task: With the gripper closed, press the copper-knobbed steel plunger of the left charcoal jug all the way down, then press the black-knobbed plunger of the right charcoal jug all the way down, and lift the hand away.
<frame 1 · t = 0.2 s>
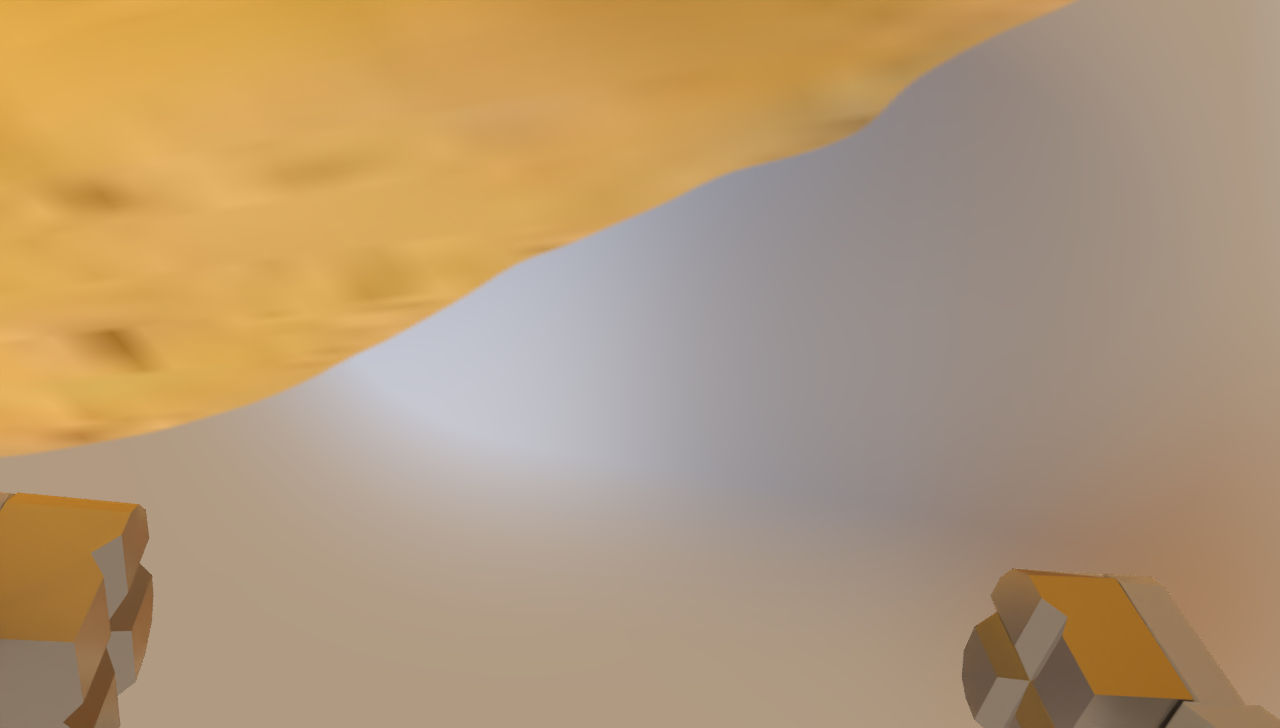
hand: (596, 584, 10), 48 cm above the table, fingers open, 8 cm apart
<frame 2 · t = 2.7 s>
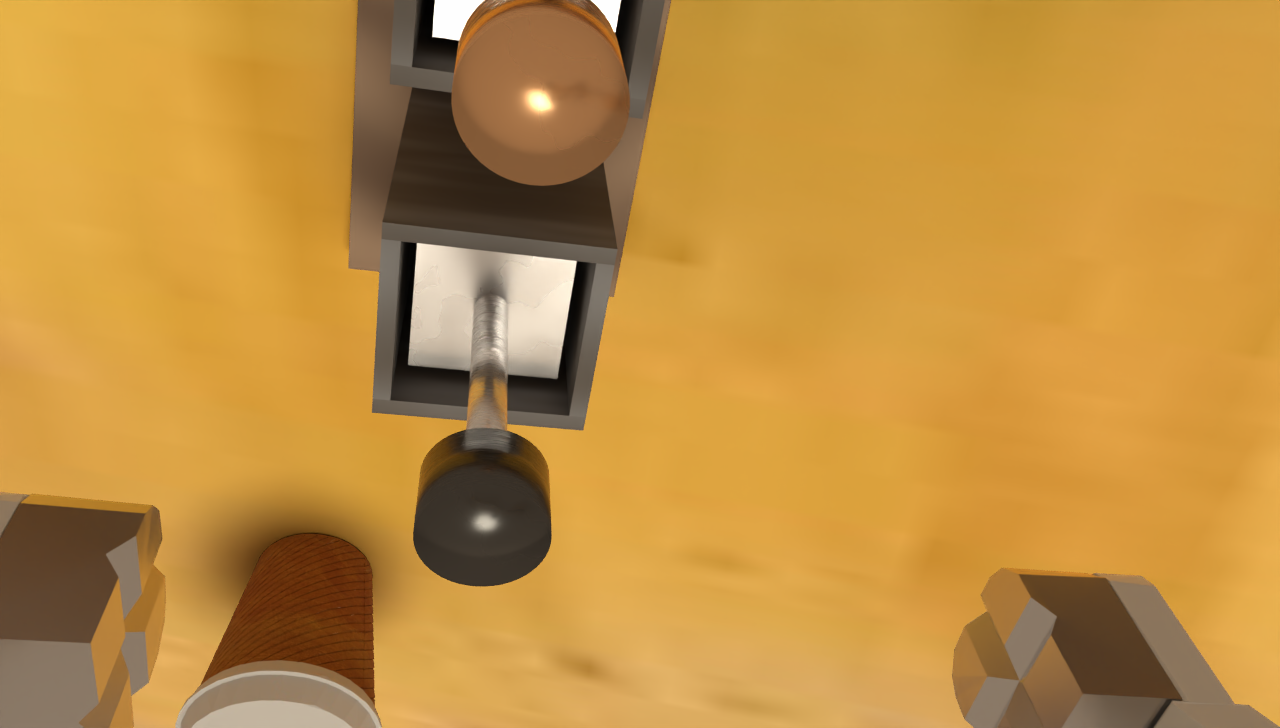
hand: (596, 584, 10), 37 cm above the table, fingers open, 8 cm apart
disposable coffee cup: (315, 571, 60), on the table
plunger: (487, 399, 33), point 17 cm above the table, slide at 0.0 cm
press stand: (511, 34, 44), on the table
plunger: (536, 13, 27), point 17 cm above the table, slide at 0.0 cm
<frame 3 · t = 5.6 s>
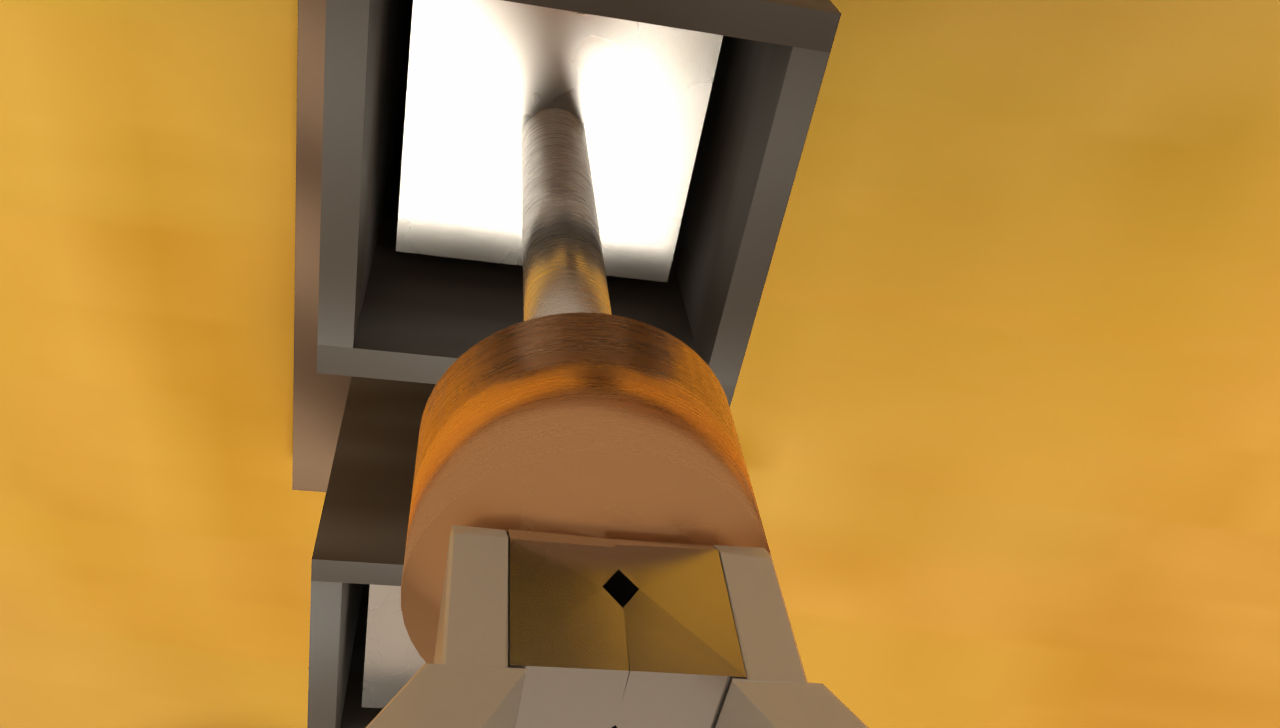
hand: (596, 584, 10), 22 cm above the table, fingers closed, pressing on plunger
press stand: (514, 189, 32), on the table
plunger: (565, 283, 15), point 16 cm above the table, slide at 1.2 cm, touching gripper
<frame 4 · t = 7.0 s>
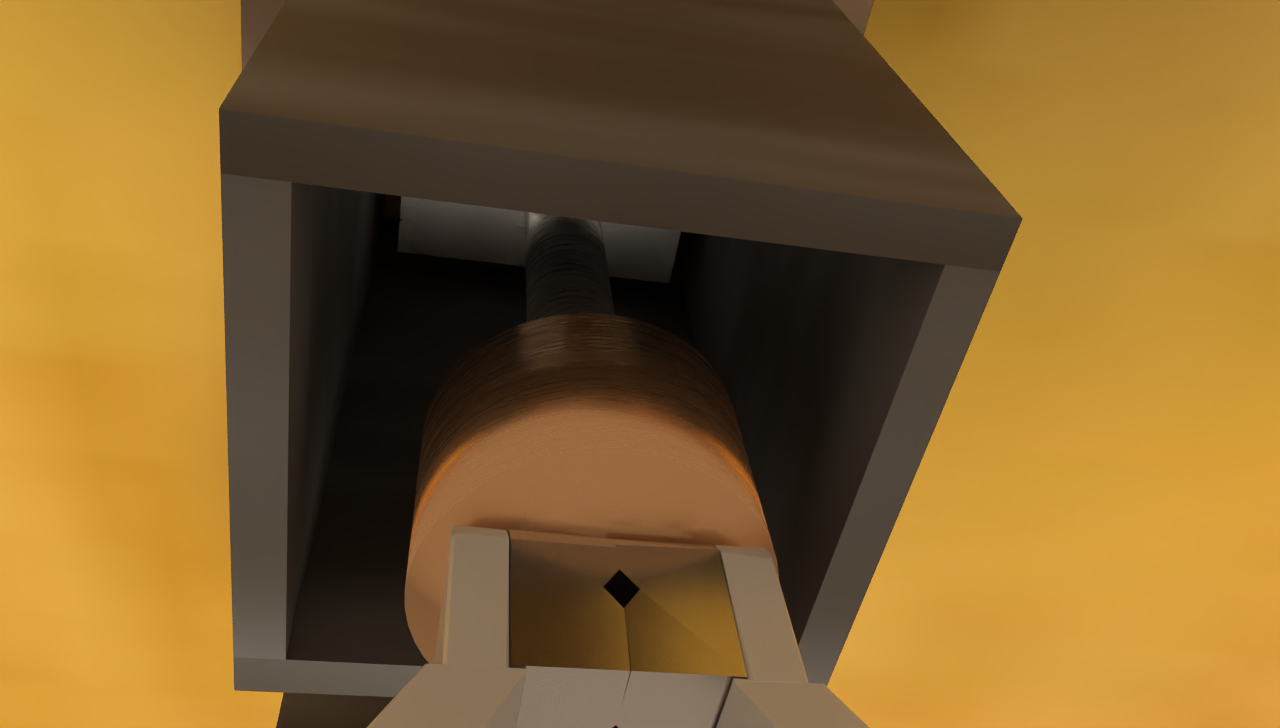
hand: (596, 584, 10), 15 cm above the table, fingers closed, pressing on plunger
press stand: (515, 310, 26), on the table
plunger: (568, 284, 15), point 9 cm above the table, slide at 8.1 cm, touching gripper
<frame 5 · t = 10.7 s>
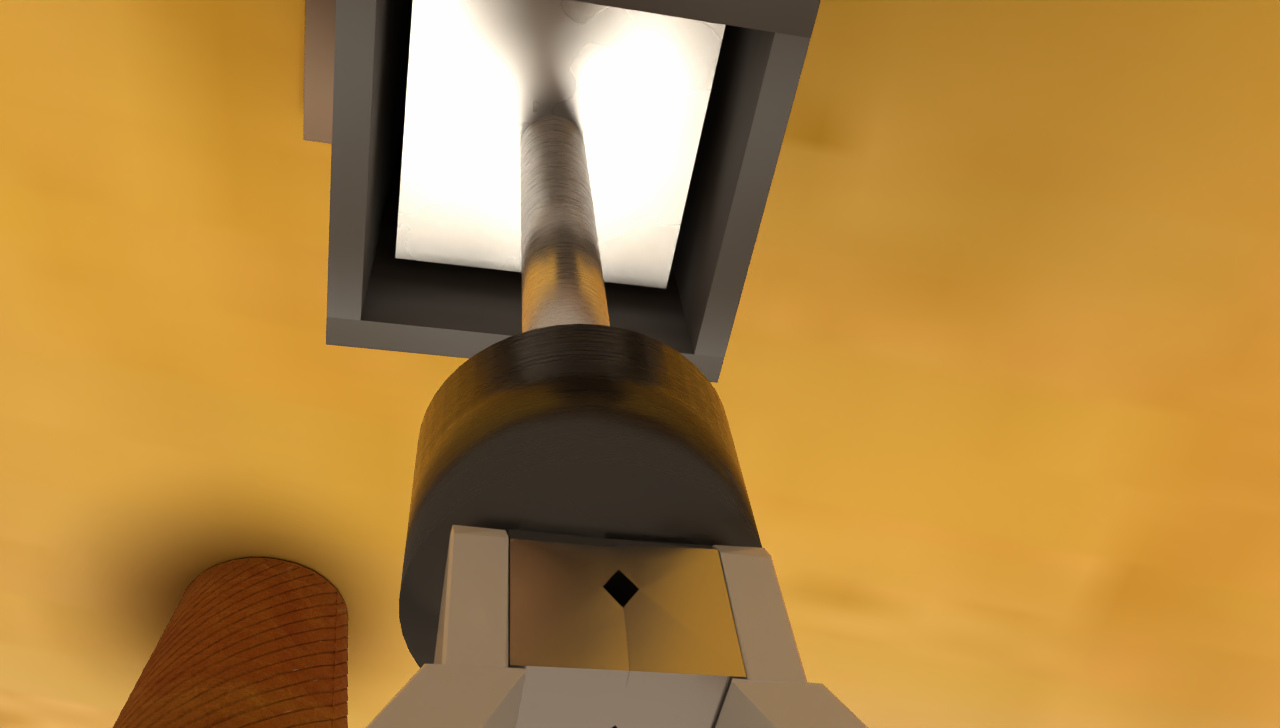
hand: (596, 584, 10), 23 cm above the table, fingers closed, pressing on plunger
disposable coffee cup: (266, 610, 42), on the table
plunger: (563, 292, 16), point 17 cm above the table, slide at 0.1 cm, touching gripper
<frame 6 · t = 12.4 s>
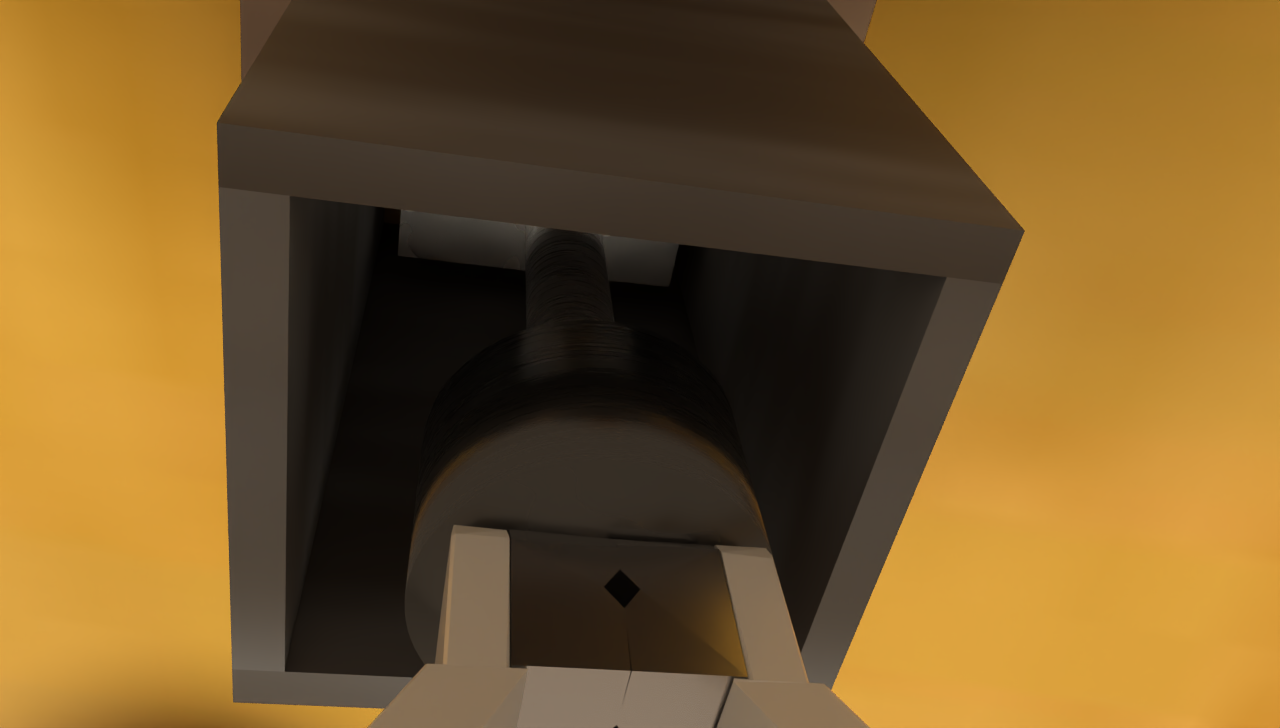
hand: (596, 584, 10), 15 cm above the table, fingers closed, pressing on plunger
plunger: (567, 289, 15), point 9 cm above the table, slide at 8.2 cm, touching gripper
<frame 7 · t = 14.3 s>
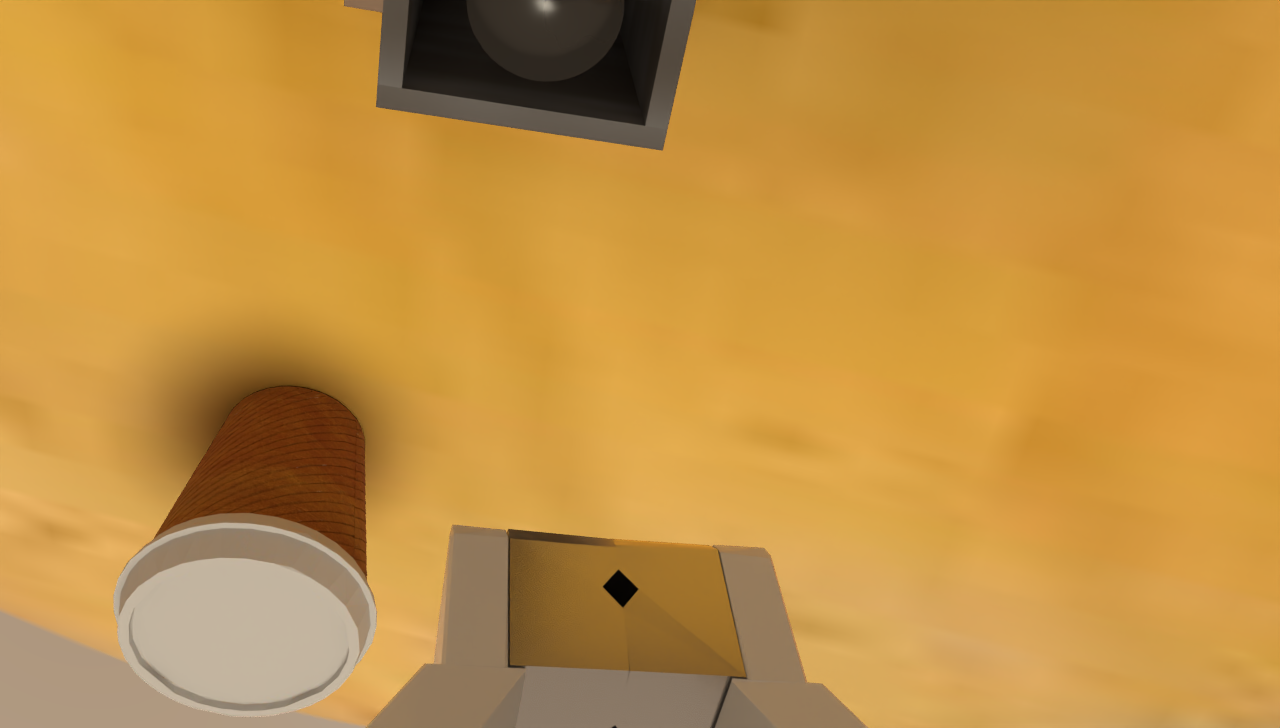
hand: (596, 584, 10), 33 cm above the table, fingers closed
disposable coffee cup: (295, 438, 50), on the table
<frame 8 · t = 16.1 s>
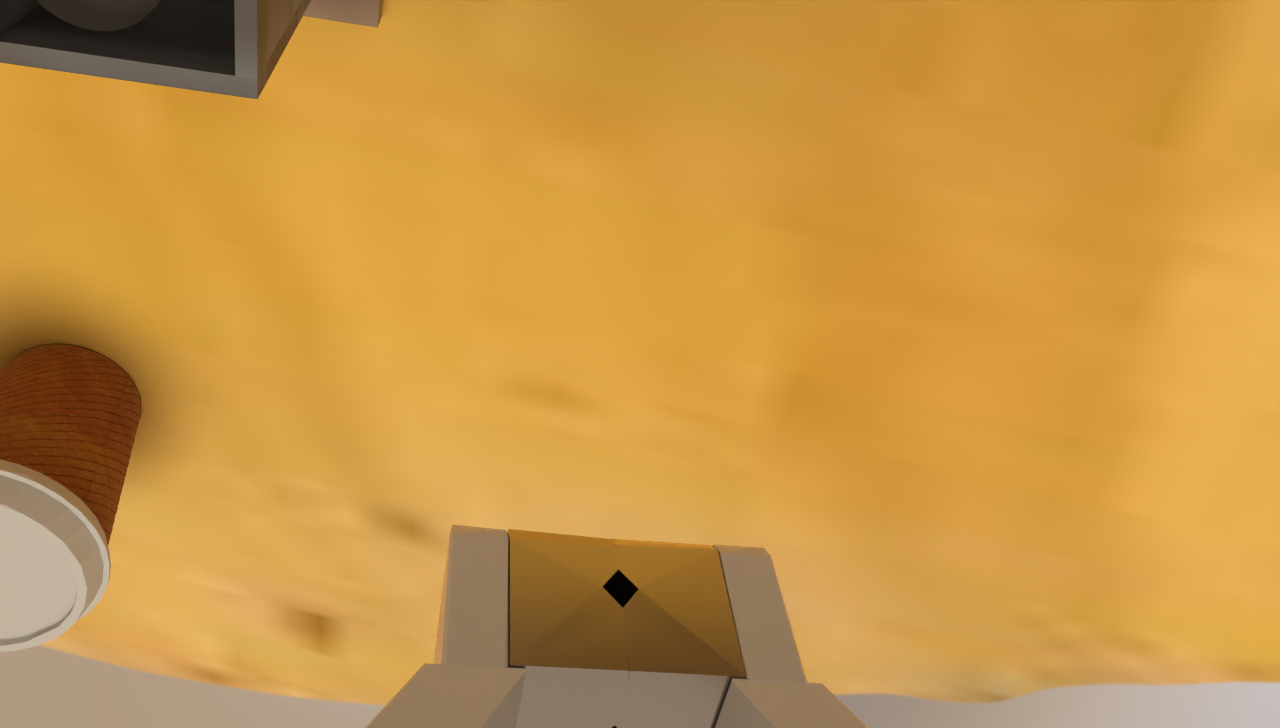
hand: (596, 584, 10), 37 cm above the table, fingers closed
disposable coffee cup: (74, 395, 52), on the table
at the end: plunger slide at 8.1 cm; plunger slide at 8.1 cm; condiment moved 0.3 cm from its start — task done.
